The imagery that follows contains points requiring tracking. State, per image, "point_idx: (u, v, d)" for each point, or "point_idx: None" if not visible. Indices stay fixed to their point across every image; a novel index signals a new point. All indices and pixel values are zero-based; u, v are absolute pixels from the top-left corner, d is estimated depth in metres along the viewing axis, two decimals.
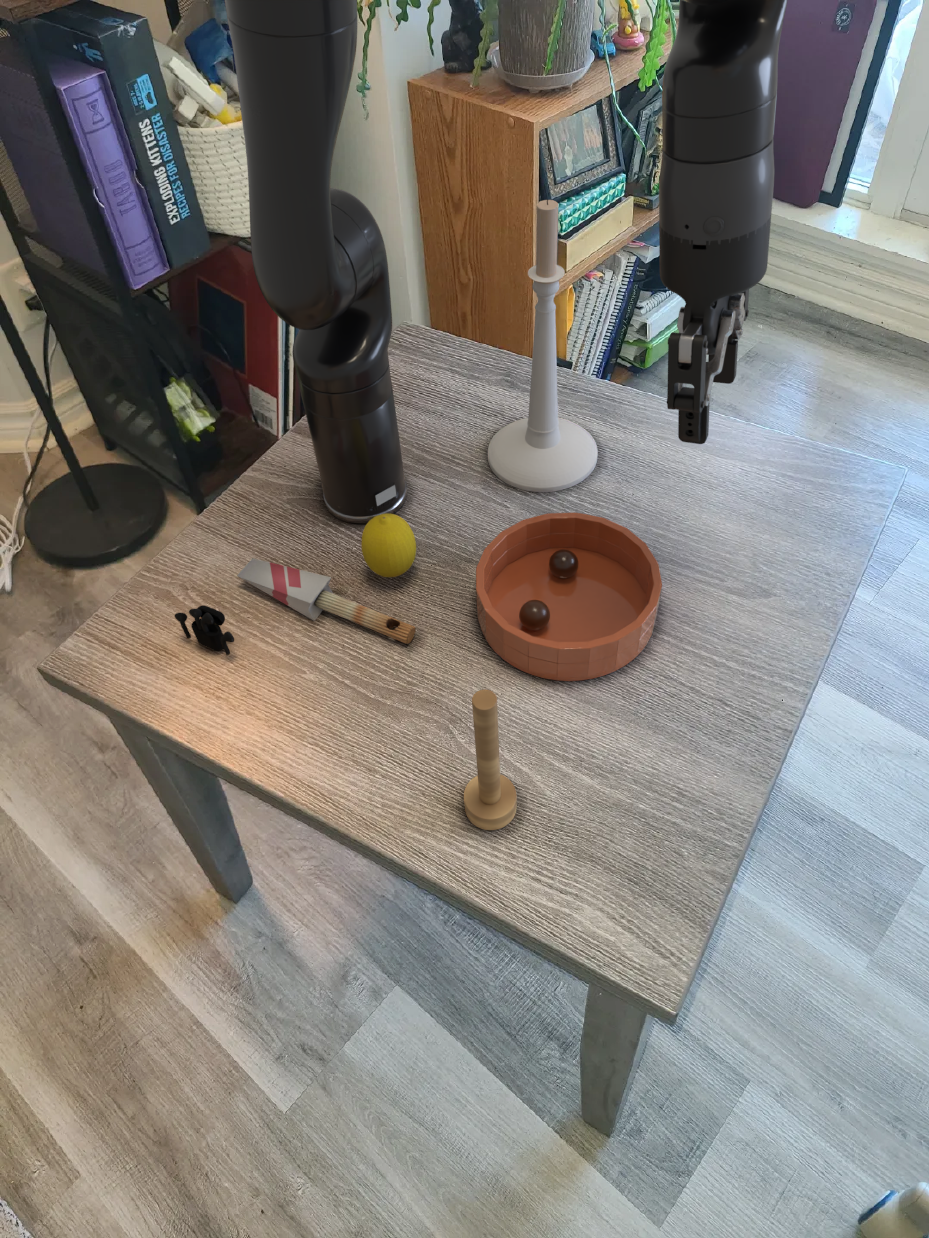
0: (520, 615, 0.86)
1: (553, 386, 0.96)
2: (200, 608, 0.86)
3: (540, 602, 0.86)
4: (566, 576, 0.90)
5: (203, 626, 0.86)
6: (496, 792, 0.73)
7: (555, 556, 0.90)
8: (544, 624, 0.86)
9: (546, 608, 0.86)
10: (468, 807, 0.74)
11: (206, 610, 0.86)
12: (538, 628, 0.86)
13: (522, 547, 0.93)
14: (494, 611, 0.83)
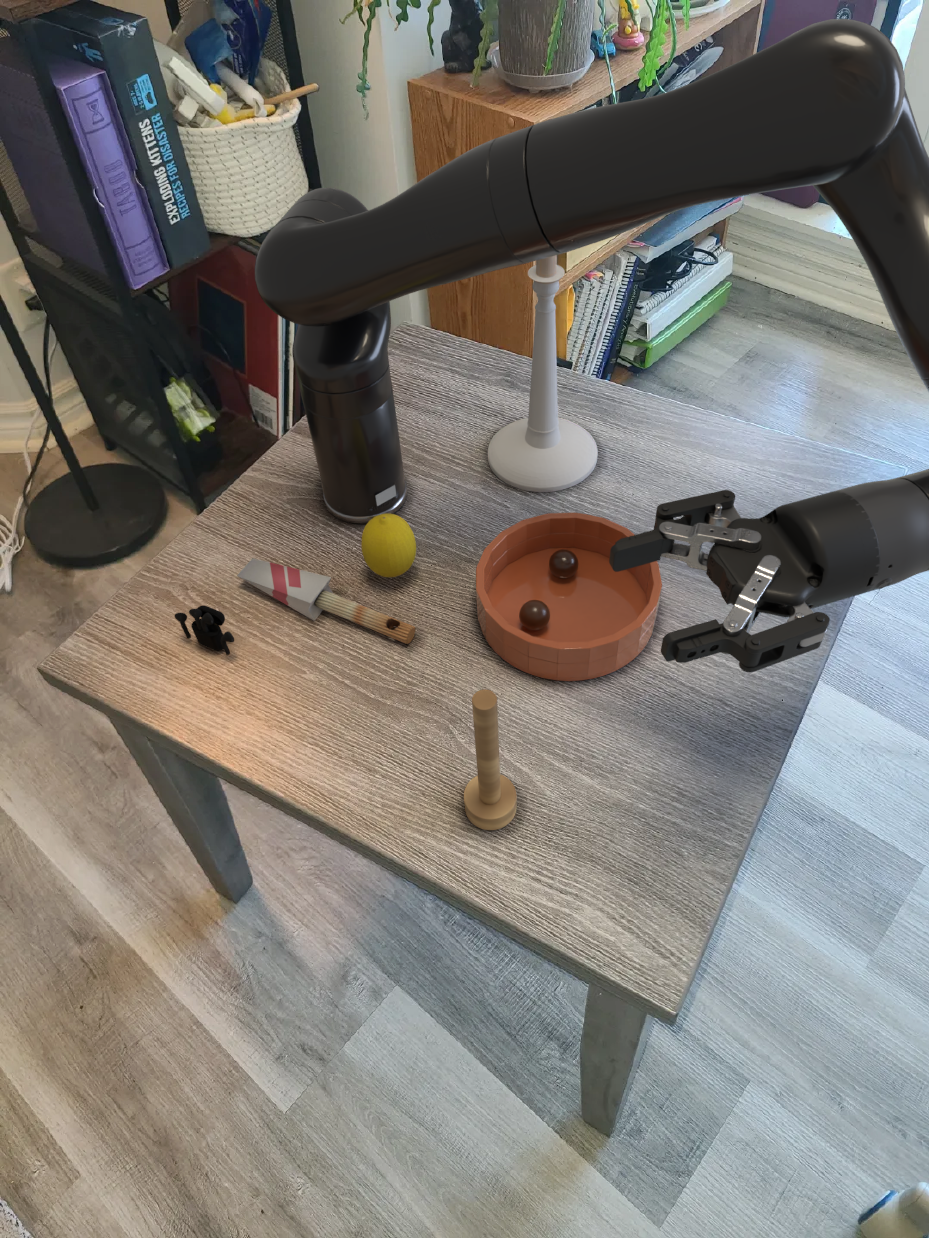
0: (520, 615, 0.86)
1: (553, 386, 0.96)
2: (200, 608, 0.86)
3: (540, 602, 0.86)
4: (566, 576, 0.90)
5: (203, 626, 0.86)
6: (496, 792, 0.73)
7: (555, 556, 0.90)
8: (544, 624, 0.86)
9: (546, 608, 0.86)
10: (468, 807, 0.74)
11: (206, 610, 0.86)
12: (538, 628, 0.86)
13: (522, 547, 0.93)
14: (494, 611, 0.83)
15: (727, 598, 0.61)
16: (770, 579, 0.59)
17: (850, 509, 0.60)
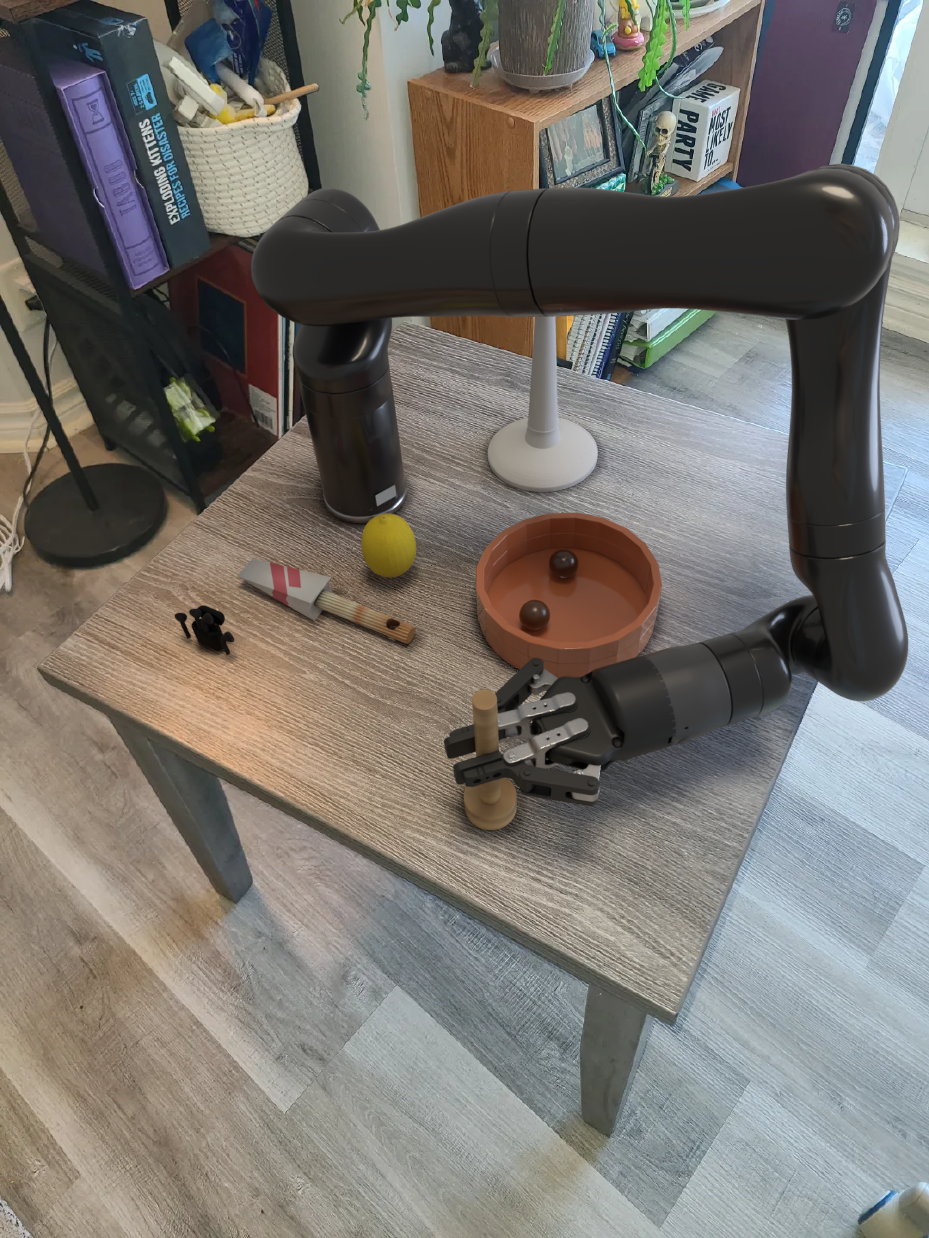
0: (520, 615, 0.86)
1: (553, 386, 0.96)
2: (200, 608, 0.86)
3: (540, 602, 0.86)
4: (566, 576, 0.90)
5: (203, 626, 0.86)
6: (496, 792, 0.73)
7: (555, 556, 0.90)
8: (544, 624, 0.86)
9: (546, 608, 0.86)
10: (468, 807, 0.74)
11: (206, 610, 0.86)
12: (538, 628, 0.86)
13: (522, 547, 0.93)
14: (494, 611, 0.83)
15: (545, 753, 0.69)
16: (568, 737, 0.68)
17: (650, 678, 0.68)
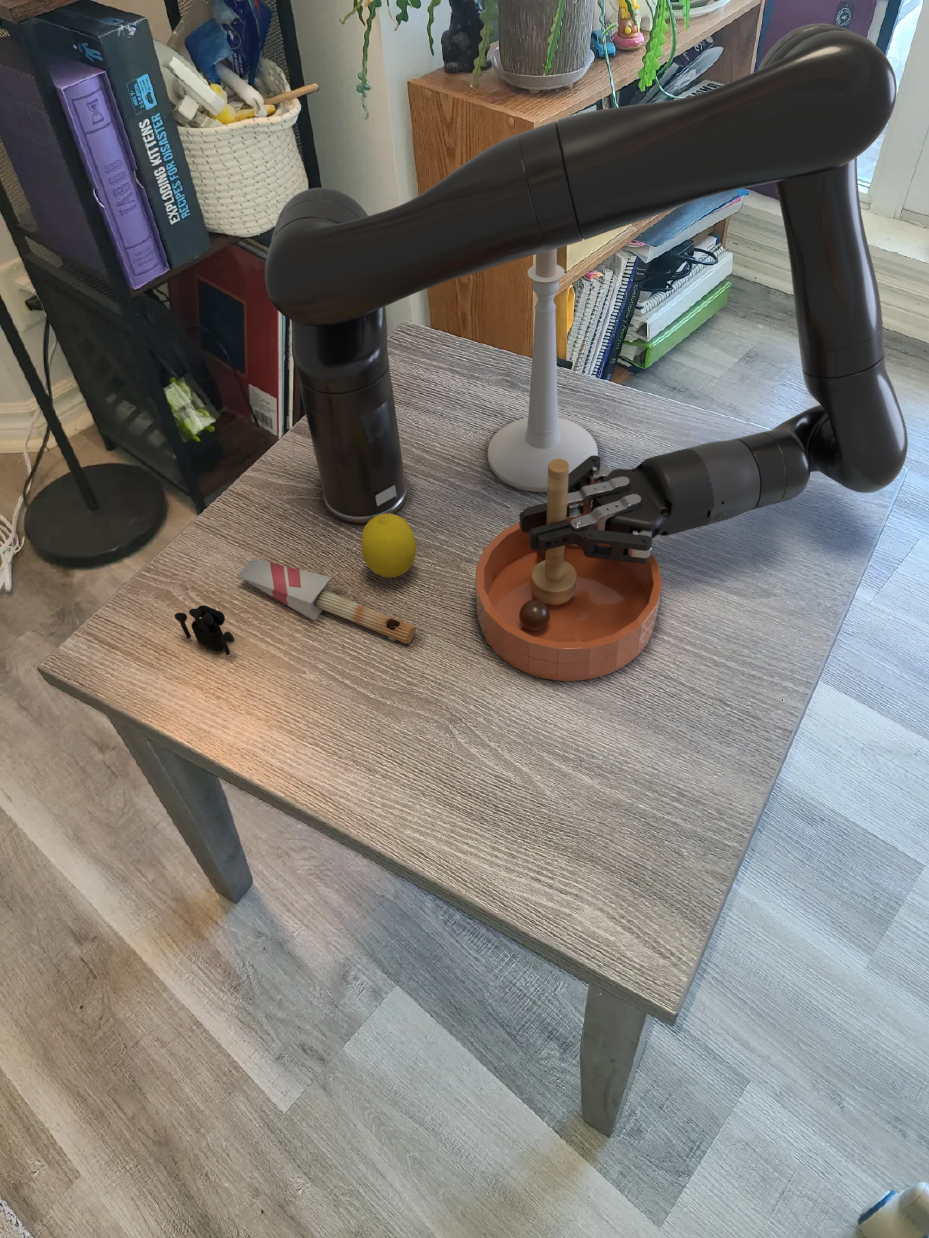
0: (520, 615, 0.86)
1: (553, 386, 0.96)
2: (200, 608, 0.86)
3: (540, 602, 0.86)
4: None
5: (203, 626, 0.86)
6: (560, 568, 0.86)
7: None
8: (544, 624, 0.86)
9: (546, 608, 0.86)
10: (536, 583, 0.87)
11: (206, 610, 0.86)
12: (538, 628, 0.86)
13: (522, 547, 0.93)
14: (494, 611, 0.83)
15: None
16: (624, 508, 0.81)
17: (693, 460, 0.82)
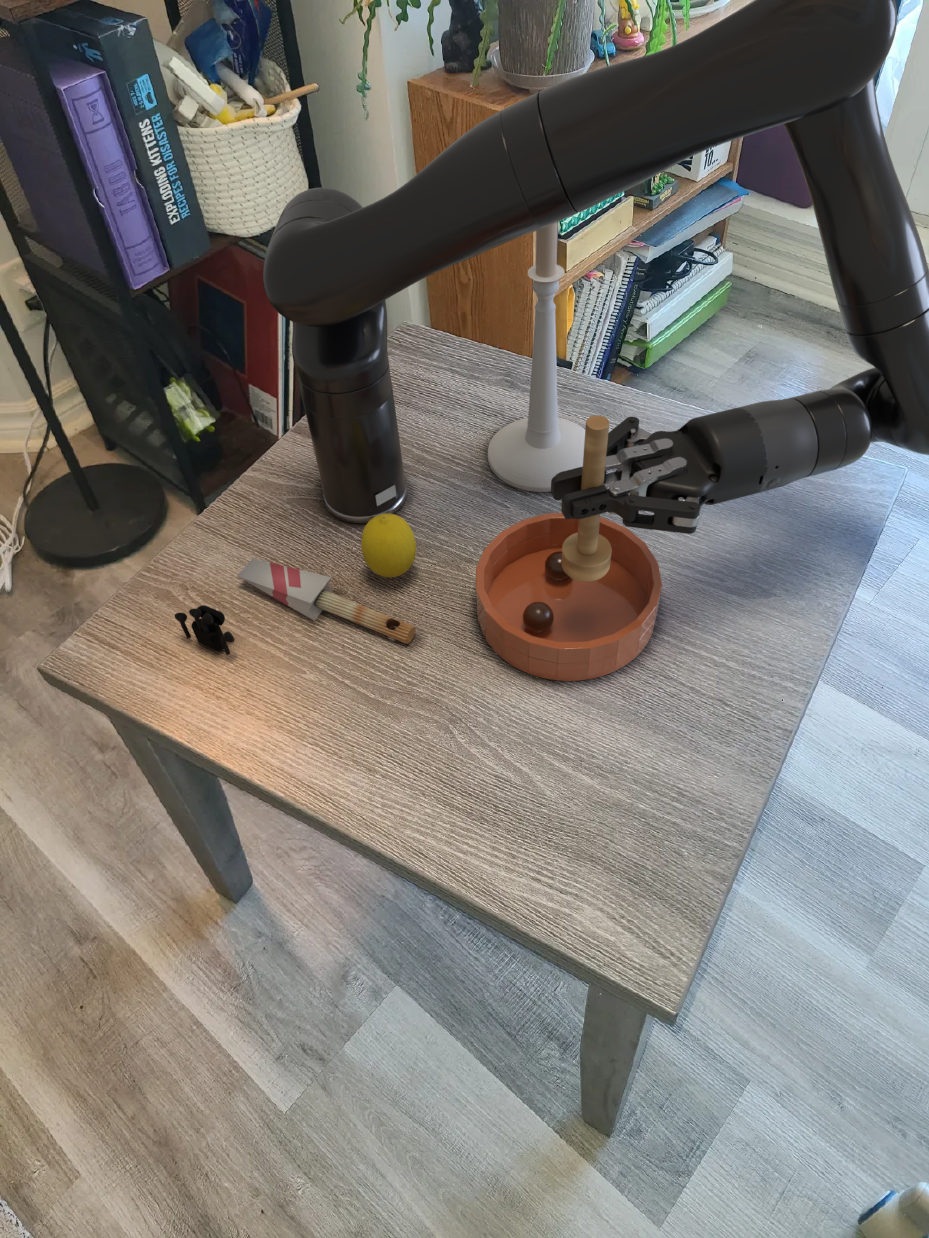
0: (524, 614, 0.86)
1: (553, 386, 0.96)
2: (200, 608, 0.86)
3: (546, 606, 0.86)
4: (559, 579, 0.90)
5: (203, 626, 0.86)
6: (595, 540, 0.78)
7: (549, 559, 0.90)
8: (545, 629, 0.86)
9: (550, 613, 0.86)
10: (567, 558, 0.79)
11: (206, 610, 0.86)
12: (538, 631, 0.86)
13: (522, 547, 0.93)
14: (494, 611, 0.83)
15: None
16: (668, 472, 0.73)
17: (744, 420, 0.74)
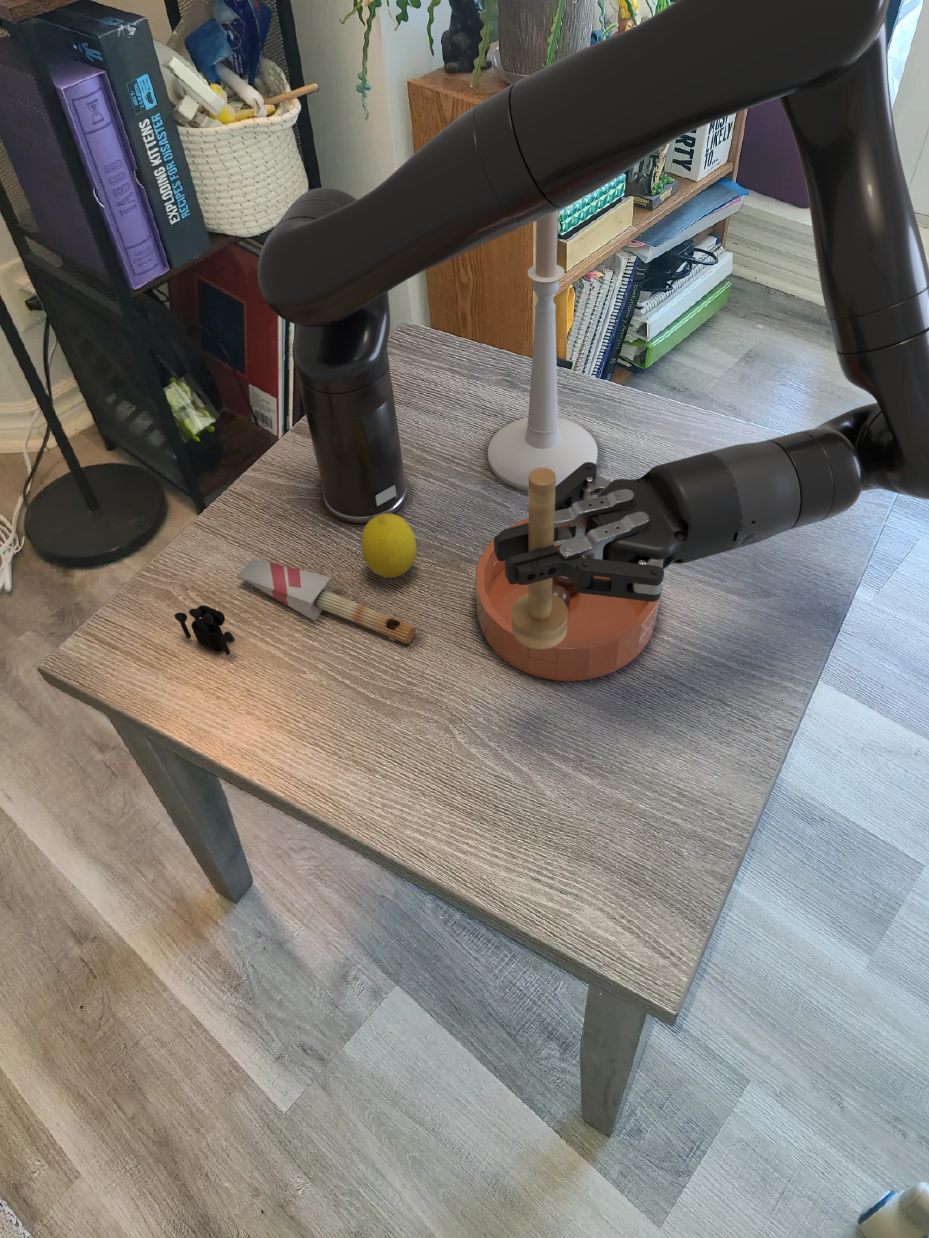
0: None
1: (553, 386, 0.96)
2: (200, 608, 0.86)
3: None
4: None
5: (203, 626, 0.86)
6: (548, 604, 0.68)
7: (562, 581, 0.88)
8: (566, 601, 0.87)
9: None
10: (517, 623, 0.70)
11: (206, 610, 0.86)
12: (562, 597, 0.86)
13: None
14: (494, 611, 0.83)
15: None
16: (628, 530, 0.63)
17: (715, 468, 0.64)
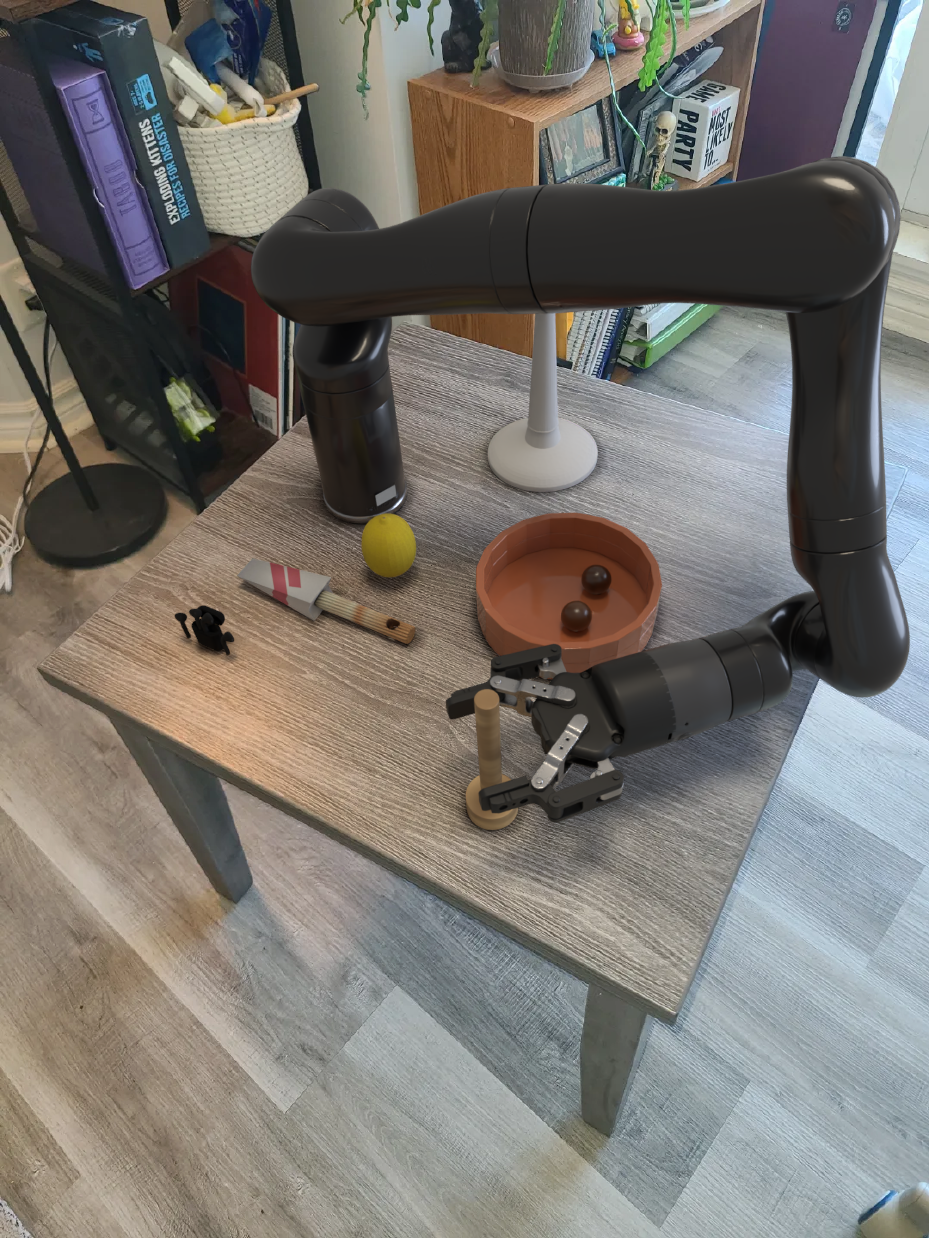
0: (589, 614, 0.85)
1: (553, 386, 0.96)
2: (200, 608, 0.86)
3: None
4: (585, 575, 0.88)
5: (203, 626, 0.86)
6: None
7: (605, 587, 0.88)
8: None
9: None
10: (470, 807, 0.74)
11: (206, 610, 0.86)
12: None
13: (522, 547, 0.93)
14: (494, 611, 0.83)
15: (544, 749, 0.69)
16: (577, 737, 0.67)
17: (651, 674, 0.68)
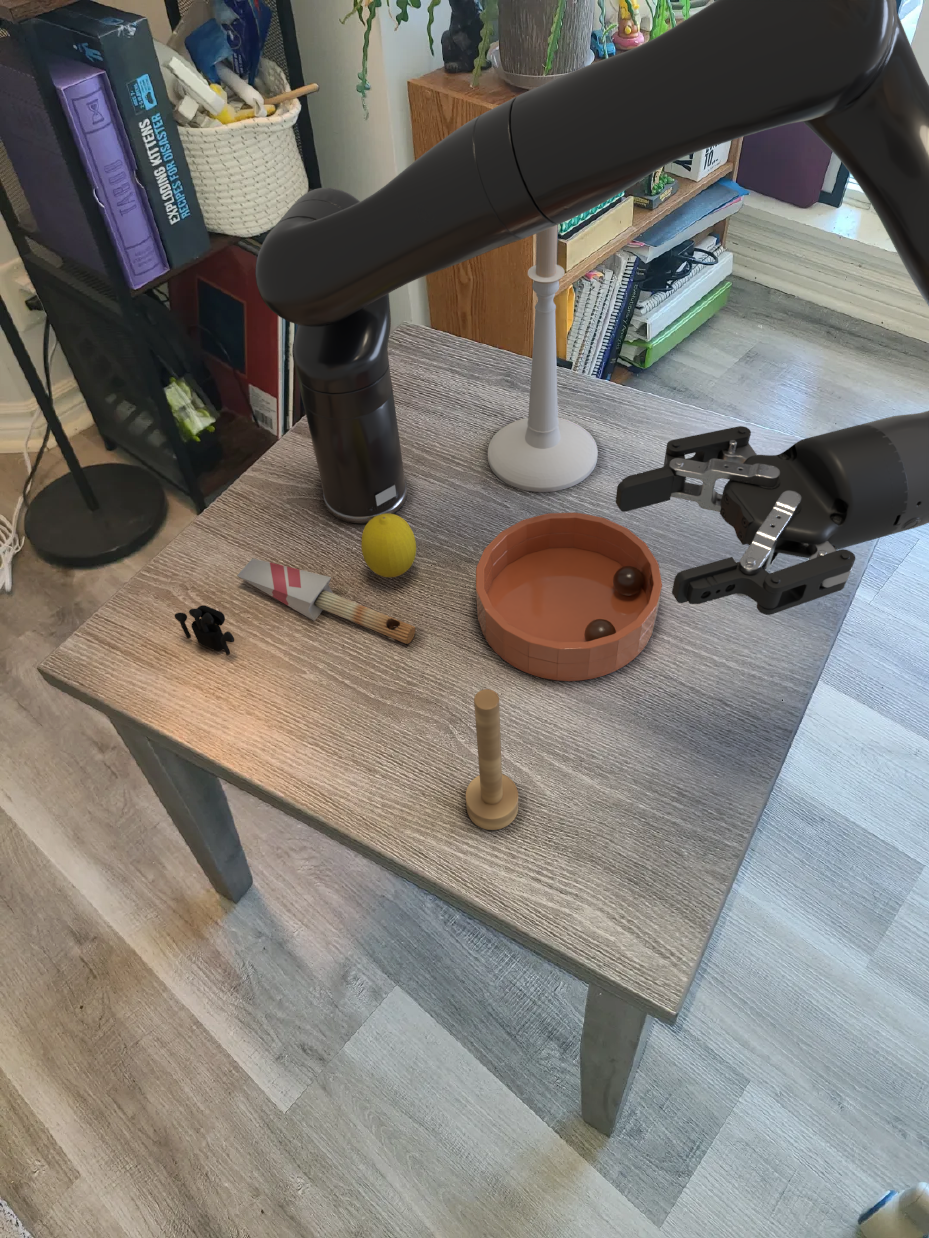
0: None
1: (553, 386, 0.96)
2: (200, 608, 0.86)
3: (614, 627, 0.84)
4: (642, 581, 0.88)
5: (203, 626, 0.86)
6: (498, 792, 0.73)
7: (624, 595, 0.89)
8: (592, 621, 0.85)
9: (607, 621, 0.84)
10: (470, 807, 0.74)
11: (206, 610, 0.86)
12: None
13: (522, 547, 0.93)
14: (494, 611, 0.83)
15: (743, 538, 0.57)
16: (790, 515, 0.55)
17: (876, 441, 0.56)
